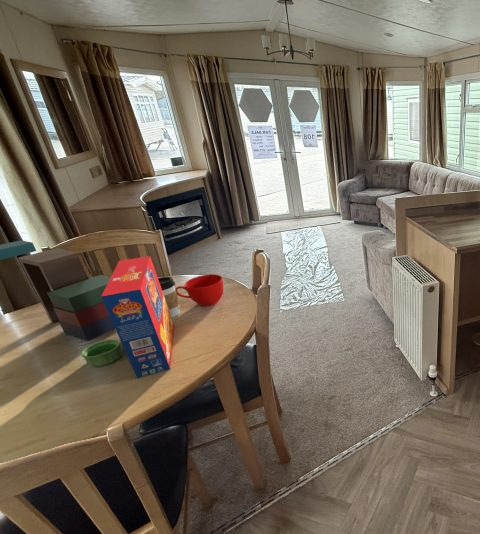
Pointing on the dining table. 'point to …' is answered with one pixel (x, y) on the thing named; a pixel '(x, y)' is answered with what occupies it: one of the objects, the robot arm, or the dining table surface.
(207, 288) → the ceramic cup
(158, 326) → the cereal box
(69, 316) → the book pile
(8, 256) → the teal bar
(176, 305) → the coffee cup
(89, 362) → the ramekin
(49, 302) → the walnut shelf
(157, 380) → the dining table surface
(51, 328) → the dining table surface
